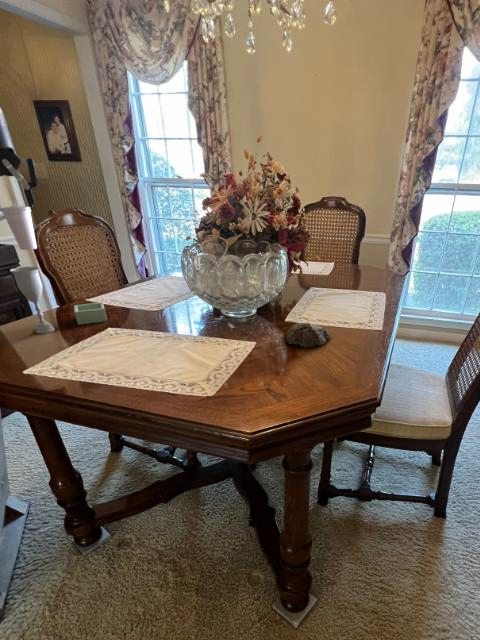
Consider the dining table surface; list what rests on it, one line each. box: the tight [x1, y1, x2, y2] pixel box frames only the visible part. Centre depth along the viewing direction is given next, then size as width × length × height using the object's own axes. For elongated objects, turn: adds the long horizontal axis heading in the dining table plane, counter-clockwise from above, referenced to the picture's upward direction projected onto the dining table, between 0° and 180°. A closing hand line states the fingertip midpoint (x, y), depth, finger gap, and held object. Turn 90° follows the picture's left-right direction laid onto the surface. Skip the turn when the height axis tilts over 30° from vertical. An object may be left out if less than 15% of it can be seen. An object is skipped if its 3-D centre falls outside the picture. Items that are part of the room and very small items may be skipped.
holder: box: [73, 301, 108, 326], centre depth 124 cm, size 9×9×4 cm
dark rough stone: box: [285, 322, 330, 349], centre depth 109 cm, size 13×12×5 cm
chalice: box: [9, 266, 56, 334], centre depth 111 cm, size 7×7×18 cm
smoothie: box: [0, 186, 38, 251], centre depth 95 cm, size 6×6×14 cm
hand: (15, 207), depth 94 cm, fingers closed on smoothie, 6 cm apart
